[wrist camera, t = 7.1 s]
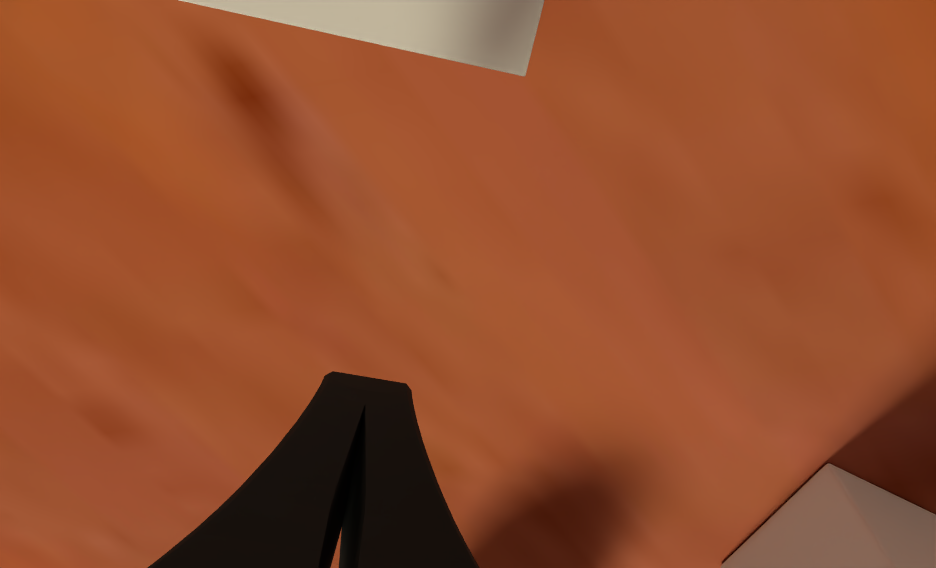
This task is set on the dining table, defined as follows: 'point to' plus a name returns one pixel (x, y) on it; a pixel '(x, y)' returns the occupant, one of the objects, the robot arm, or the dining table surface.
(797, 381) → the dining table surface
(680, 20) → the dining table surface
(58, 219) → the dining table surface
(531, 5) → the cream square platform
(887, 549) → the milk
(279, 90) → the dining table surface
